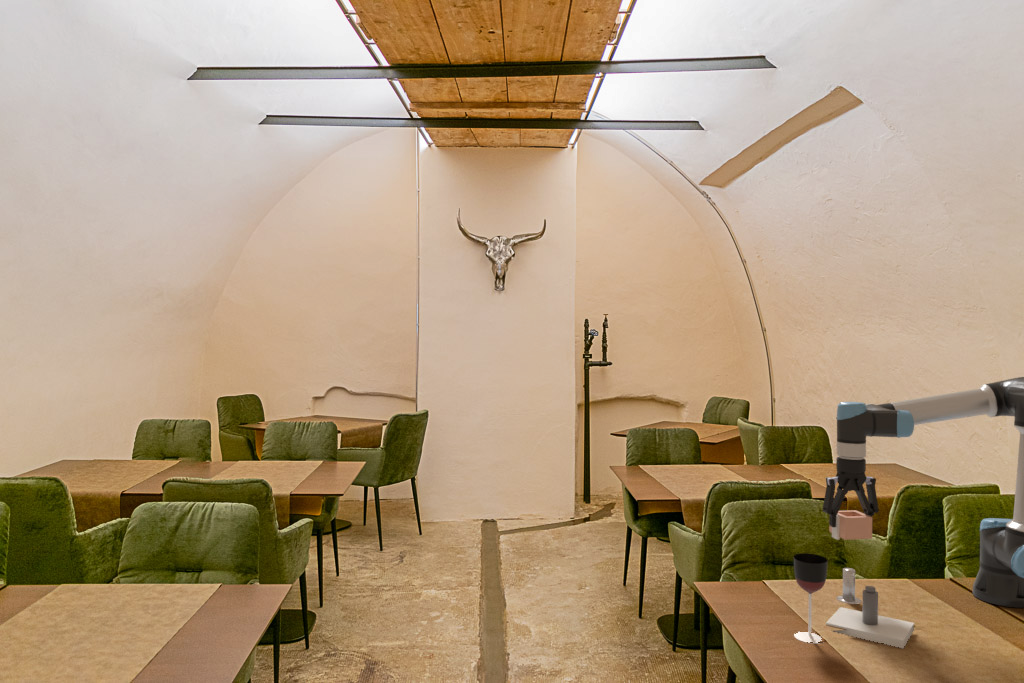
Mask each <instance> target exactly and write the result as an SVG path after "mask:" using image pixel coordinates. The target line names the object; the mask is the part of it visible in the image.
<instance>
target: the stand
mask: <svg viewBox="0 0 1024 683" xmlns="http://www.w3.org/2000/svg"><path fill="white" fill-rule="evenodd" d="M835 599H836V601H838V602H841V603H843V604H849V605H859V604H862V603H863V600H862V599H860V598H858V597H856V570H855V569H854V568H852V567H851V568H850V567H844V568H842V595H838V596H836V597H835Z"/></svg>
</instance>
